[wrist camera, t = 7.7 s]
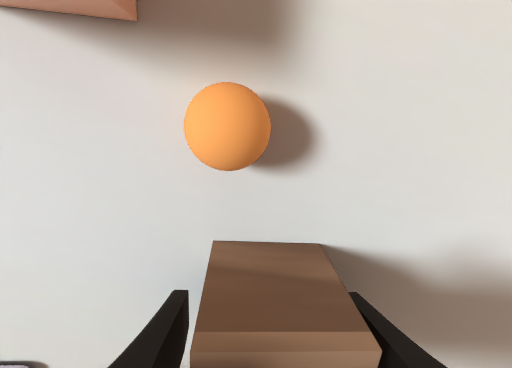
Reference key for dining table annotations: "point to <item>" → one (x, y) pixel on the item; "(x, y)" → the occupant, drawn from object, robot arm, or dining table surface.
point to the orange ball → (227, 126)
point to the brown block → (278, 311)
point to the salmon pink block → (81, 7)
